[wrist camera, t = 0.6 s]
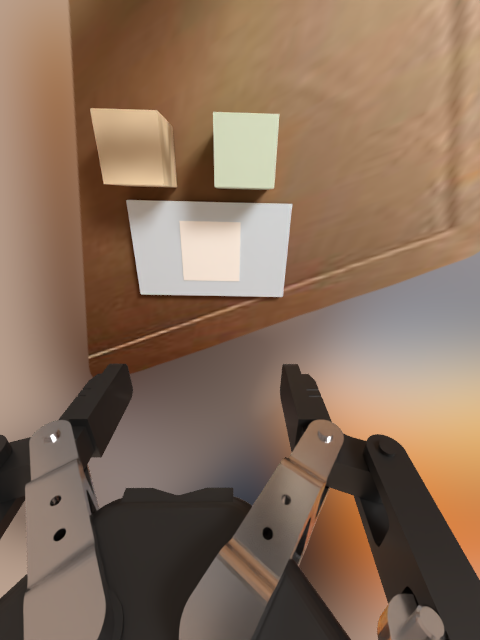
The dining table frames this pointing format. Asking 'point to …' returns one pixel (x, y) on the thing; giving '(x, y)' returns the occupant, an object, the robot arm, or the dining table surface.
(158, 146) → the maple block
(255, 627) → the robot arm
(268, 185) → the sage block
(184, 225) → the white rectangular board
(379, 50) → the dining table surface
